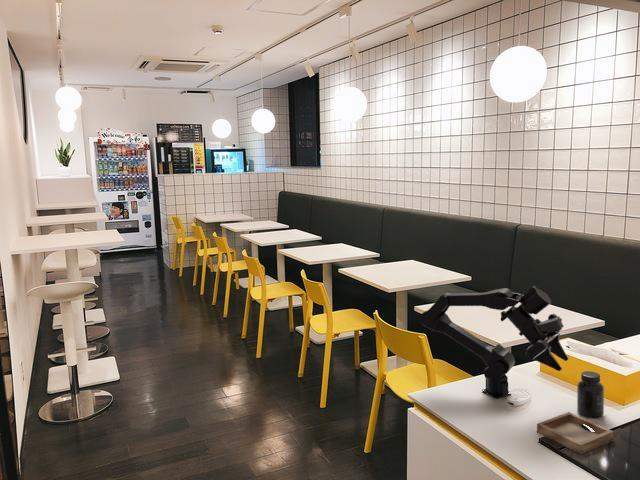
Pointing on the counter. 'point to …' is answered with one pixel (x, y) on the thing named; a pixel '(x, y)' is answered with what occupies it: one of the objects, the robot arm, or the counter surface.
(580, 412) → the supplement bottle
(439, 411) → the counter surface
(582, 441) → the walnut tray
